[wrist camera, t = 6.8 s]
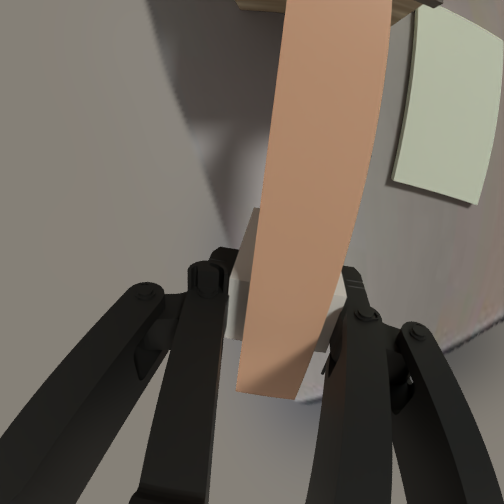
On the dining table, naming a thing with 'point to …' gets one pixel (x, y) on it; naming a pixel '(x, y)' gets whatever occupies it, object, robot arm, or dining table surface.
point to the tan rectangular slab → (311, 182)
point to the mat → (449, 105)
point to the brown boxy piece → (401, 7)
